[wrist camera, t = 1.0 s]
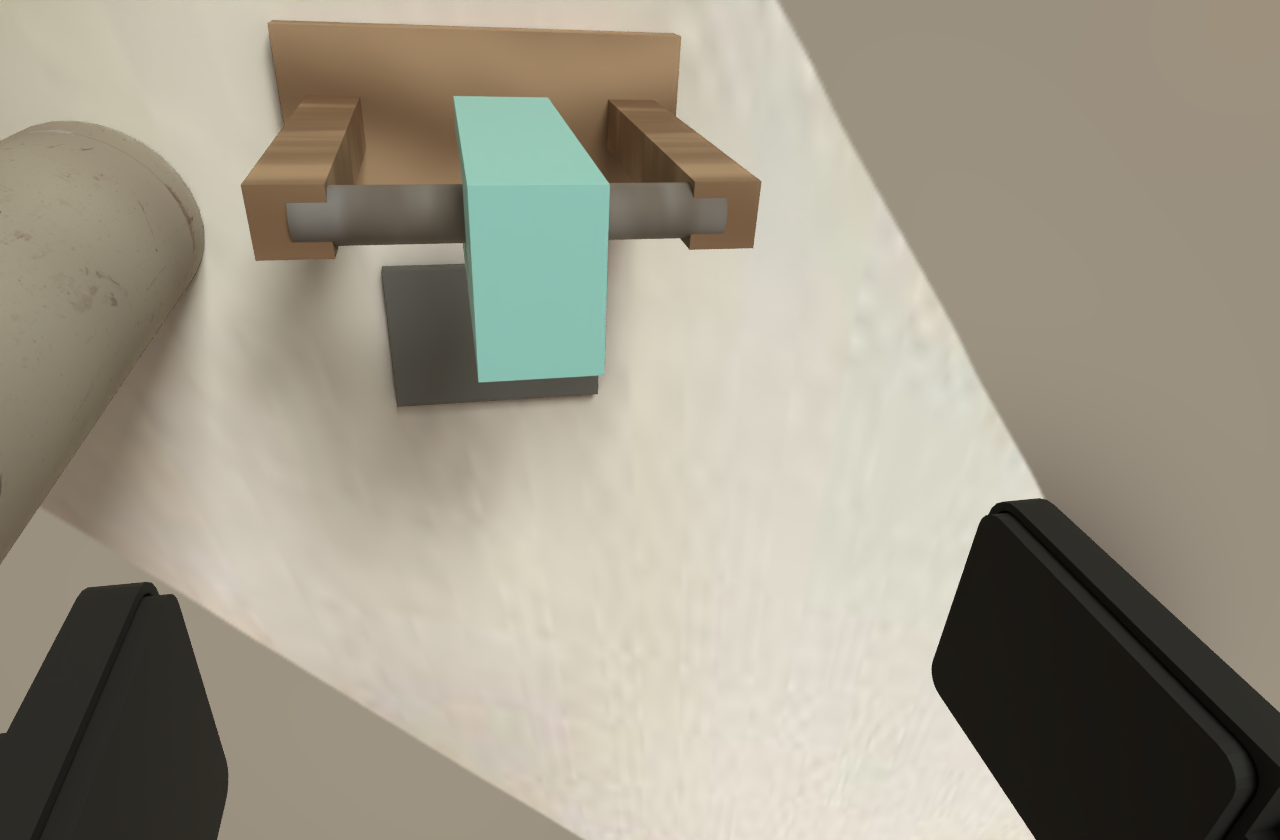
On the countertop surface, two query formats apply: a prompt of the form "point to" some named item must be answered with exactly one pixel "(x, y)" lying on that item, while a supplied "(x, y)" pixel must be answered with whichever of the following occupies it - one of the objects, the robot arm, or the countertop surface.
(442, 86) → the stand
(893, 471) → the countertop surface
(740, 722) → the countertop surface
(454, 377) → the mat
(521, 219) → the tall mint green block
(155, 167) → the thermos bottle
